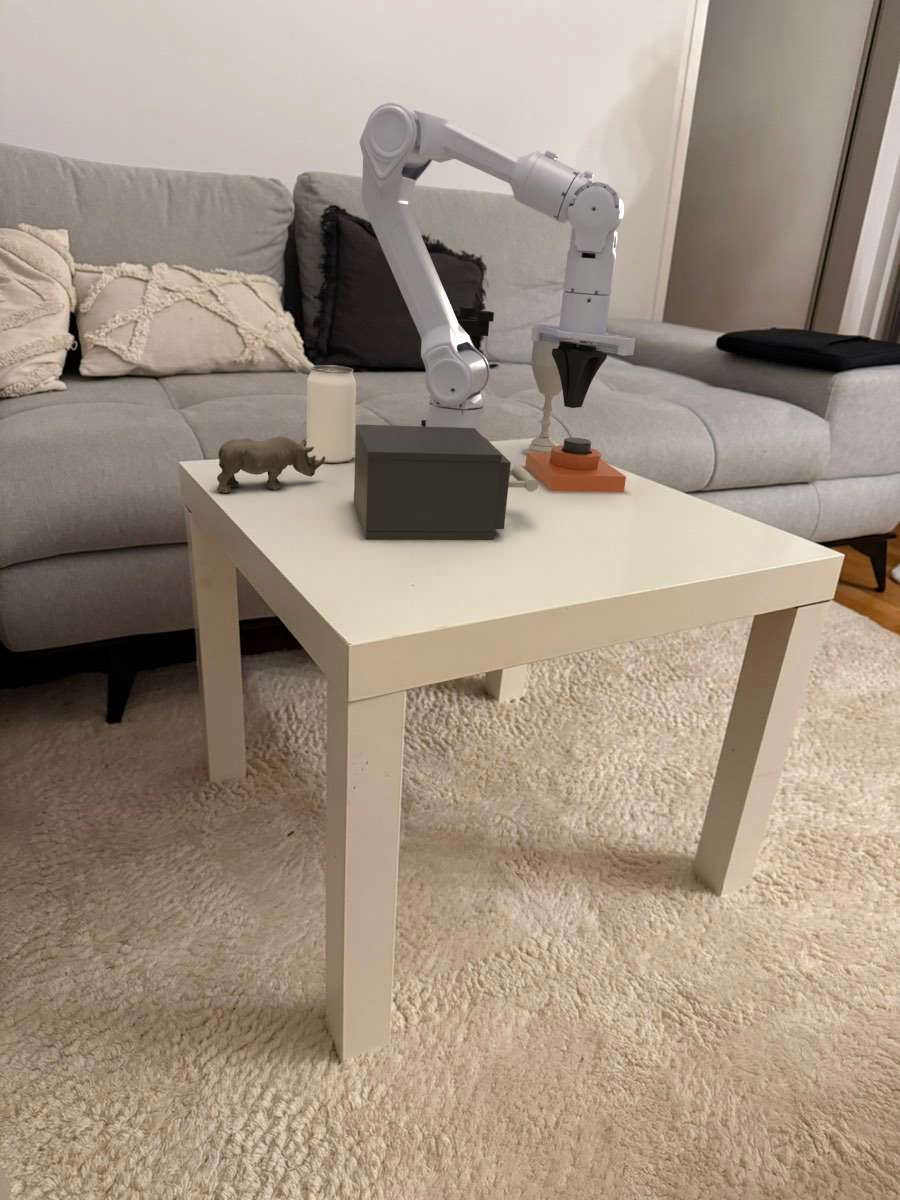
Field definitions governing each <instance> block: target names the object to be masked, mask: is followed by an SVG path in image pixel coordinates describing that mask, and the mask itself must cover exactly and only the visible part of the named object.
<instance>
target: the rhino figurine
mask: <svg viewBox="0 0 900 1200" xmlns="http://www.w3.org/2000/svg"><path fill="white" fill-rule="evenodd" d="M313 449H314V446H313V447H309V448H307V439H303V440H301V442H300V443H297V441H295V440H292V439H291V438H289V437H286V436H274V437H271V438H269V439H266V440H255V439H250V438H237V439H229V440H227V441H226V442H224V443H223V444H222V445H221V446H220V447H219V450H218V454H217V455H218V460H219V461H218V465H219V468H220V469H221V472H220V473H219V474H218V475H217V478H216V480H217V482H218V487H217V488H216V491H217V492H219V493H223V494H224V493H225V494H227V493H231V492H232V491H233V490H232V488H234V487H239V486H240V483H239V480H237V479H236V477H235V474H237V473H239V472H240V471H242V472H245V473H247V474H251V475H255V476H256V475H262V474H266V473H267V481H266V482H267V483H266V487H267V488H269V489H271V490H273V491H275V490H280V489H281V486H280V480H279V479H278V478H279V476H280V475H281V474H282V472H283V470H285V469H287V467H288V466H292V467H293V468H294V470H295V471H296V472H298V473H300V474H302V475H304V476H307V477H310V478H311V477H313V476H314V475H315V474H316V470H317V469H318V468H320V467H321V466H322V465H323V464H324V463H323V462H324V460H325V456H324V457H323V458H322V459H321V460H319V461H314V460H315V458H316V456H312V457H309V456H308V453H309V452H311V451H312V450H313Z"/></svg>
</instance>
